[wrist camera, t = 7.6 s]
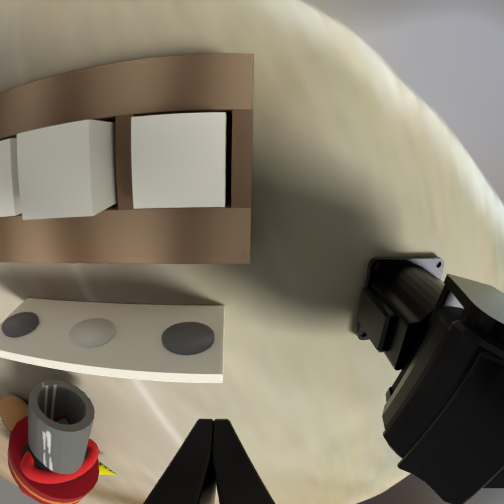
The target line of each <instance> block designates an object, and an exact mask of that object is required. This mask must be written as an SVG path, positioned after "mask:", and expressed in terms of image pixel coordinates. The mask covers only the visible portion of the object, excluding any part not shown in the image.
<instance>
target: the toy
mask: <svg viewBox="0 0 504 504" xmlns="http://www.w3.org/2000/svg"><path fill="white" fill-rule="evenodd" d="M94 412H95V411H94V407H93V404H92V402H91V400H90V399H89V398H88V397H87V395H86V394H85V393H84V392H83V391H81V390H80V389H79V388H78V387H76V386H74V385H72V384H70V383H67V382H64V381H61V380H52V379H49V380H43V381H41V382H39V383H37V384H35V385H34V386H33V388H32V389H31V391H30V395H29V403H28V405H27V404H26V403H25V402H24V401H23V400H22V399H20V398H18V397H16V396H12V395H8V396H5V397H4V398H3V399H2V400H1V402H0V415H1V418H2V421H3V423H4V425H5V426H6V427H7V429H8V430H9V431H10V432H11V434H10V440H9V447H8V465H9V468H10V471H11V474H12V476H13V478H14V480H15V481H16V483H17V484H18V485H19V488H20V490H21V491H22V492H23V493H24V494H26V495H28V496H30V497H32V498H33V499H35V500H36V501H38V502H40V503H42V504H76V503H78V502H79V501H80V500H81V499H82V498H83V497H84V496H85V495H86V494H87V493H88V492H90V491H91V490H92V489H93V487H94V486H95V484H96V482H97V480H98V476H99V475H114V474H116V473H114V472H113V471H112V470H110V469H109V468H107V467H106V466H105V465H103V464H102V463H100V462H99V461H98V454H99V449H98V446H97V444H96V443H95V442H94V441H92V440H91V439H89V436H90V431H91V427H92V423H93V419H94Z"/></svg>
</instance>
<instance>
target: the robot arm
mask: <svg viewBox="0 0 504 504" xmlns="http://www.w3.org/2000/svg"><path fill="white" fill-rule="evenodd" d="M438 262H439V263H438ZM376 263H378V266H377V267H376V268H374V266H375V264H376ZM437 263H438V265H437V266H436V264H437ZM443 265H444V261H443V260H442V259H441V258H440V257H376V258H373V259H371V261H370V262H369V266H368V272H367V278H366V284H365V287H364V288H363V290H362V295H361V300H360V306H359V311H358V316H357V320H358V327H357V332H356V335H357V336H358V338H359V339H360V340H368V339H370V340H371V342H372V343H373V345H374V346H375V348H376V349H377V350H378V351H379V352H384V353H385V355H386V356H387V358H388V359H389V361H390V362H391V364H392V366H393V367H394V369H395V370H402V371H401V372H400V374H399V376H398V377H397V379H396V381H395V382H394V384H393V386H392V387H390V388H389V389H388V391H387V393H386V402H387V403H386V404H385V406H384V411H383V415H382V417H383V422H384V428H385V431H384V432H383V436H384V438H385V440H386V441H387V443H388V445H389V446H390V447H391V449H392V450H393V451H394V452H395V453H396V454H397V455H398V456H399V457H401V458H402V460H401V461H400V462H399V463H398V465H397V466H398V468H400V469H402V470H404V471H407V472H409V473H412V474H414V475H415V476H417V477H418V478H420V479H422V480H423V481H425V482H426V483H427V484H428V485H429V486H430V487H431V488H432V489H433V490H434V491H435V492H436V493H437V494H438V495H439V496H440V497H441V498H442V499H443V500H444V501H445V502H448V503H451V504H464V503H465V502H467V501H468V500H469V499H470V498H472V497H473V496H474V495H475V494H476V493H477V492H478V491H480V490H481V489H504V293H502V292H501V291H499V290H497V289H496V288H494V287H492V286H490V285H486V284H483V283H479V282H476V281H472V280H468V279H465V278H461V277H458V276H454V275H450V274H447V276H446V278H445V281H444V282H442V281H441V280H440V278H441V274H442V270H443ZM363 332H365V333H364V334H362V333H363ZM361 334H362V335H361ZM216 485H217V491H218V497H219V503H220V504H275V502H274V501H273V499H272V497H271V496H270V494H269V492H268V490H267V489H266V487H265V485H264V484H263V482H262V480H261V478H260V477H259V475H258V473H257V471H256V469H255V468H254V466H253V464H252V462H251V460H250V459H249V457H248V455H247V453H246V451H245V449H244V447H243V446H242V444H241V442H240V440H239V438H238V436H237V434H236V432H235V430H234V428H233V426H232V424H231V422H230V421H229V420H228V419H215V420H214V421H213V420H212V419H199V420H198V421H197V422H196V424H195V425H194V427H193V428H192V430H191V432H190V433H189V435H188V436H187V438H186V439H185V441H184V443H183V444H182V446H181V447H180V449H179V450H178V452H177V453H176V455H175V457H174V458H173V460H172V461H171V463H170V464H169V466H168V467H167V469H166V470H165V472H164V473H163V475H162V476H161V478H160V479H159V481H158V482H157V484H156V485H155V487H154V488H153V490H152V491H151V493H150V494H149V496H148V497H147V499H146V500H145V502H144V503H143V504H214V501H215V494H216Z"/></svg>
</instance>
